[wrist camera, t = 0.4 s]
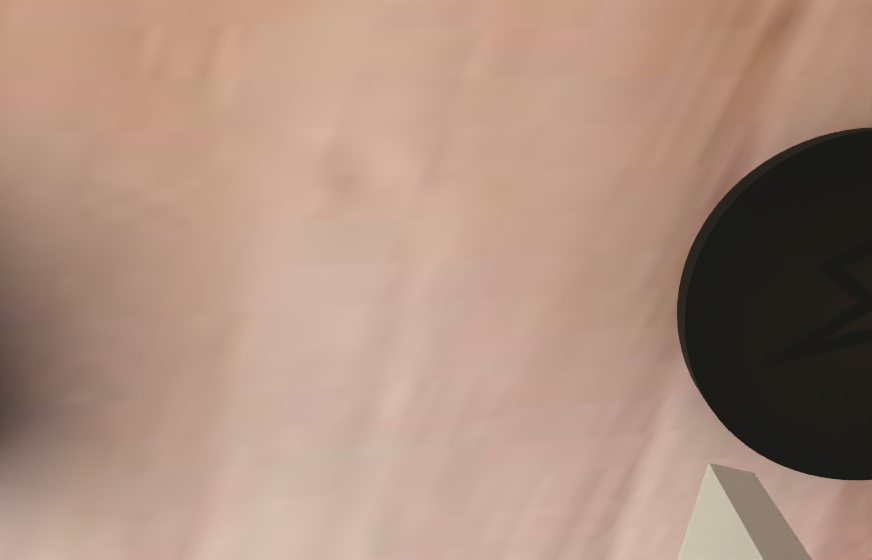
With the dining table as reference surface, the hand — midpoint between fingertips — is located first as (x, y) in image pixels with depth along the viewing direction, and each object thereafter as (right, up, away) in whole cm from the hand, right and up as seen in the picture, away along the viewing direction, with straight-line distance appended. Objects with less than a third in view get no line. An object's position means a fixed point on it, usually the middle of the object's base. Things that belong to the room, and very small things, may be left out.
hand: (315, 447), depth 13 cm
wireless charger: (+24, +2, +26) cm, 35 cm away
